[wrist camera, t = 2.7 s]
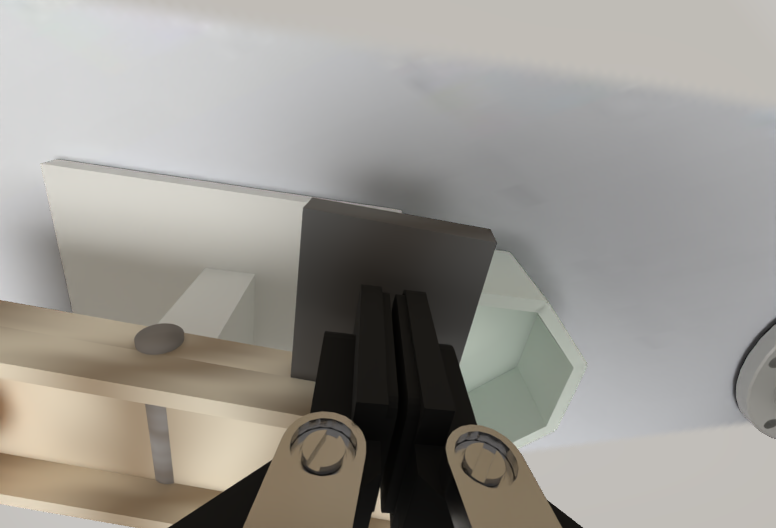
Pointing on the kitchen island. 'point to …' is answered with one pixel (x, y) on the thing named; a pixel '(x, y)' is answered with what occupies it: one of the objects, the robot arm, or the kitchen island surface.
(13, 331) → the lever
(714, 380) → the kitchen island surface
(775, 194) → the kitchen island surface
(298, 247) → the lever stand
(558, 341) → the pale green bowl
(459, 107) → the kitchen island surface
